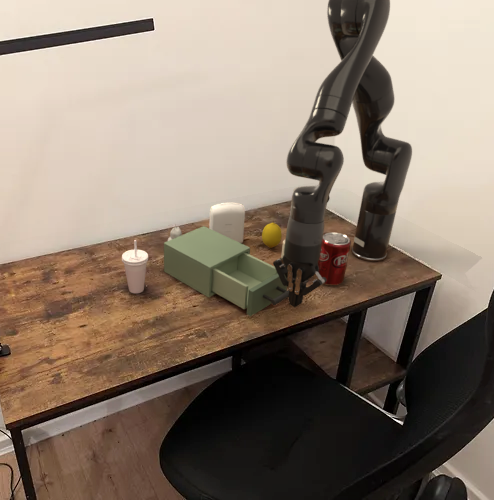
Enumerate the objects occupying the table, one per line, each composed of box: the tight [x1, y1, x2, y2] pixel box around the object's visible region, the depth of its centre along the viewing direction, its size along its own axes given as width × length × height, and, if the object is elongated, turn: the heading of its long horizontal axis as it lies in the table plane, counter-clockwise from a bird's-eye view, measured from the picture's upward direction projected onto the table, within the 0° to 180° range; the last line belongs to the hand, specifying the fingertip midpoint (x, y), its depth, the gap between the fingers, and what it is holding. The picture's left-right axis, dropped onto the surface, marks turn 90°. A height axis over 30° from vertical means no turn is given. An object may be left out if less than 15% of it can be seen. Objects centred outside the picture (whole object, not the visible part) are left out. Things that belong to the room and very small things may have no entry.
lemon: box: [261, 222, 283, 249], centre depth 148 cm, size 6×6×8 cm
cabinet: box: [163, 225, 251, 298], centre depth 135 cm, size 17×15×9 cm
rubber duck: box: [167, 223, 183, 241], centre depth 146 cm, size 5×7×8 cm
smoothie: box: [121, 239, 149, 294], centre depth 126 cm, size 6×6×14 cm
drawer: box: [211, 253, 289, 317], centre depth 125 cm, size 20×13×7 cm
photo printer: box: [208, 202, 246, 244], centre depth 149 cm, size 10×4×12 cm, turn 99°
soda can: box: [318, 231, 352, 287], centre depth 133 cm, size 7×7×12 cm
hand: (294, 304), depth 117 cm, fingers closed
